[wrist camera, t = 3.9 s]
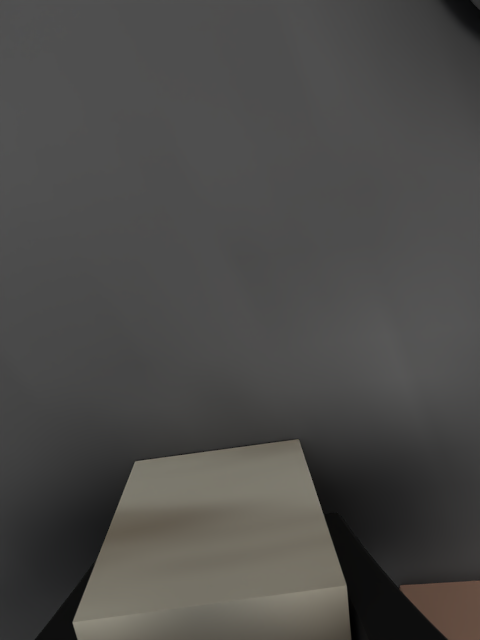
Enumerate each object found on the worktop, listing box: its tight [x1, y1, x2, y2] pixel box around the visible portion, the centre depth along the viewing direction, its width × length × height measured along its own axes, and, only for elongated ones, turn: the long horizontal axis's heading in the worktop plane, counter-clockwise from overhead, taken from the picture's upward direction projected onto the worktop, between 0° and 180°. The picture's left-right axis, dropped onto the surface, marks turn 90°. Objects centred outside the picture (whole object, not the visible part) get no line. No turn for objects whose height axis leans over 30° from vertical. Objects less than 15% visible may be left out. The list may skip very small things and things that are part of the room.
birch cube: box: [72, 439, 351, 640], centre depth 9 cm, size 4×4×4 cm
